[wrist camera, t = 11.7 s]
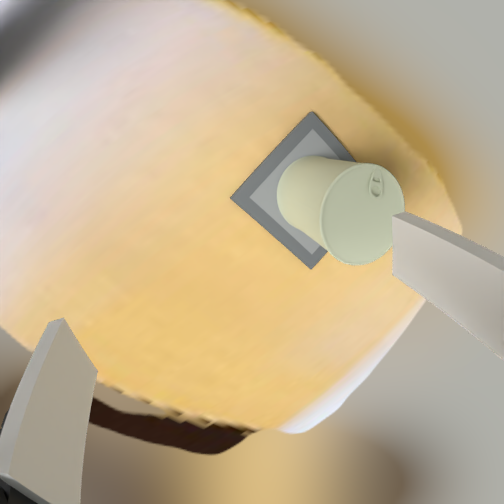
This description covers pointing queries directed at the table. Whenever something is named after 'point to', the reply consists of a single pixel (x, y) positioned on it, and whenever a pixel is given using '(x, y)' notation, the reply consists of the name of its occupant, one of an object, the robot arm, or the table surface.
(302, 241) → the coaster
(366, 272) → the table surface
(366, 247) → the can
